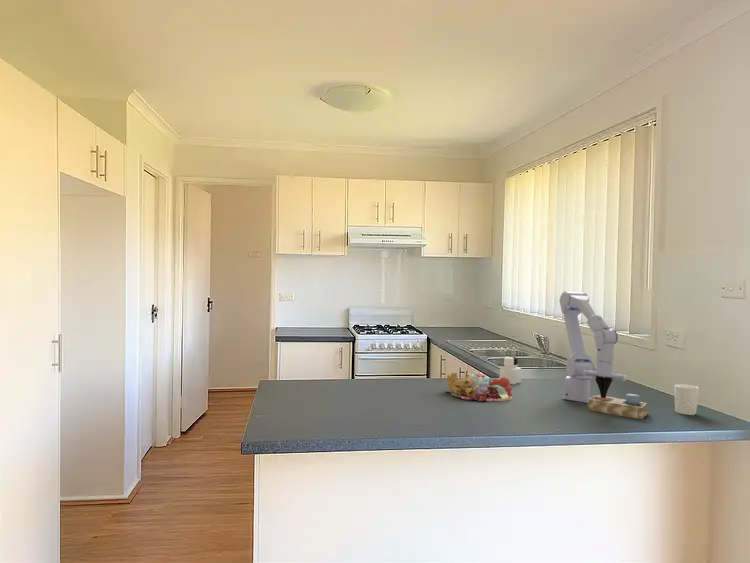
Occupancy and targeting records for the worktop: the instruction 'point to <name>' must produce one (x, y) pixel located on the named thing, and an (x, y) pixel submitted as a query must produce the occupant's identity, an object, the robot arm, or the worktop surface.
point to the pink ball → (603, 398)
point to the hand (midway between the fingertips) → (603, 397)
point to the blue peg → (632, 399)
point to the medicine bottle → (511, 370)
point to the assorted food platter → (479, 387)
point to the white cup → (686, 399)
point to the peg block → (617, 407)
